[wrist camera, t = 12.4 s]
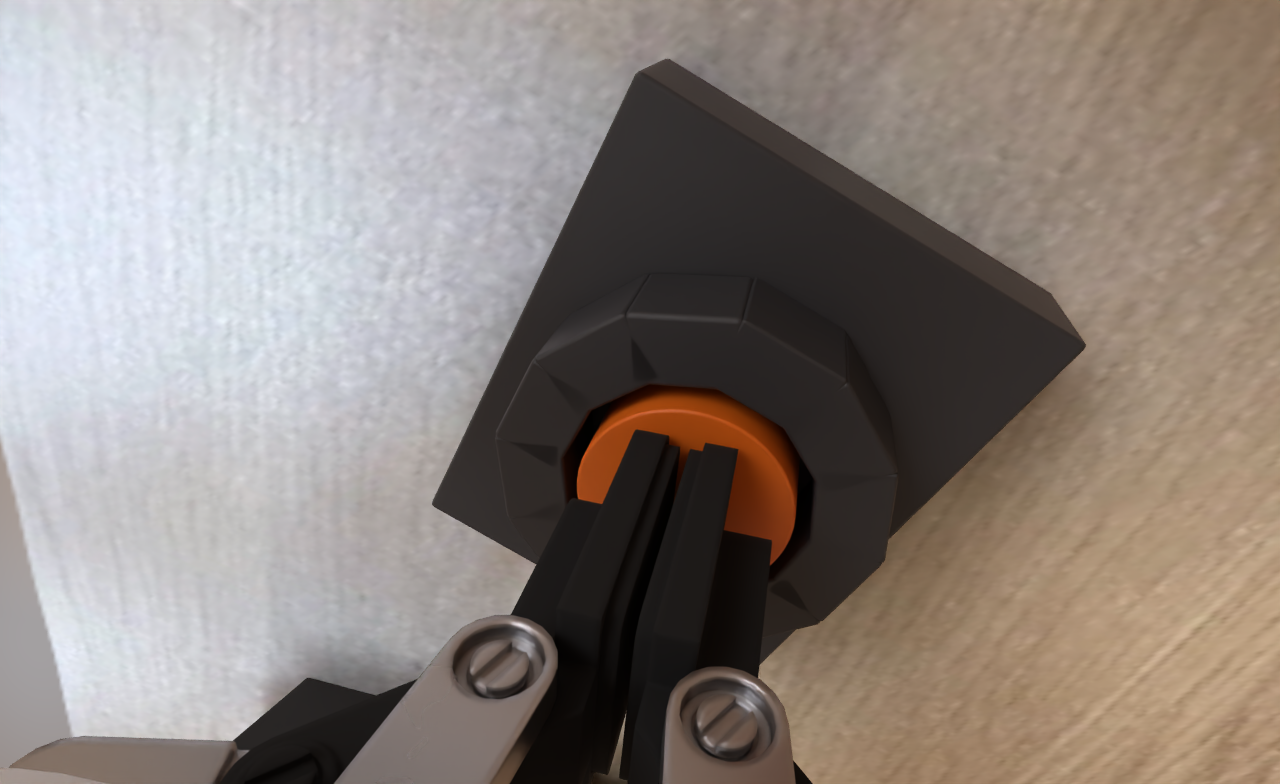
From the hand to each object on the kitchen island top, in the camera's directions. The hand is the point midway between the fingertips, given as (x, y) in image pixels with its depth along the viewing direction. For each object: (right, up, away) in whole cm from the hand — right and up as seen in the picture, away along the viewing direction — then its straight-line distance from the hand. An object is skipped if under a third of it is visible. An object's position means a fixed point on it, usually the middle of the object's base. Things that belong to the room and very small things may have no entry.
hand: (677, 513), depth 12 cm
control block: (+1, +2, +4) cm, 4 cm away
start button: (0, +1, +1) cm, 2 cm away
